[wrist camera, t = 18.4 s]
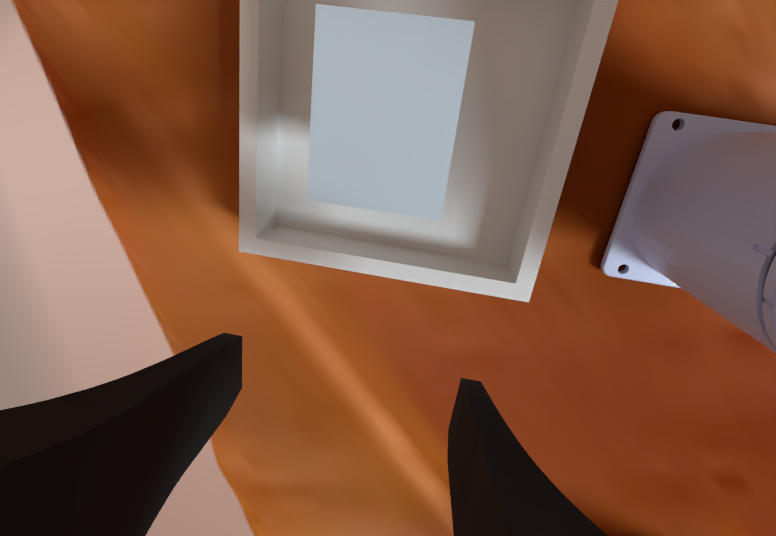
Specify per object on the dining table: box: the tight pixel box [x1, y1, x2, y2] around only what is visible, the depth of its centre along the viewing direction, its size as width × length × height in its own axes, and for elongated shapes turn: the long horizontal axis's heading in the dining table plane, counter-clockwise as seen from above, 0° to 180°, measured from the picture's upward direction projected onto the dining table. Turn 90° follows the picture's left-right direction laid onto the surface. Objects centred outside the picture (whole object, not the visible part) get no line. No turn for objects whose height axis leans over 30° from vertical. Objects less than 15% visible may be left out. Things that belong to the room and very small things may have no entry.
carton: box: [307, 4, 475, 220], centre depth 13 cm, size 4×5×4 cm
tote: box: [239, 0, 618, 302], centre depth 18 cm, size 14×14×4 cm
